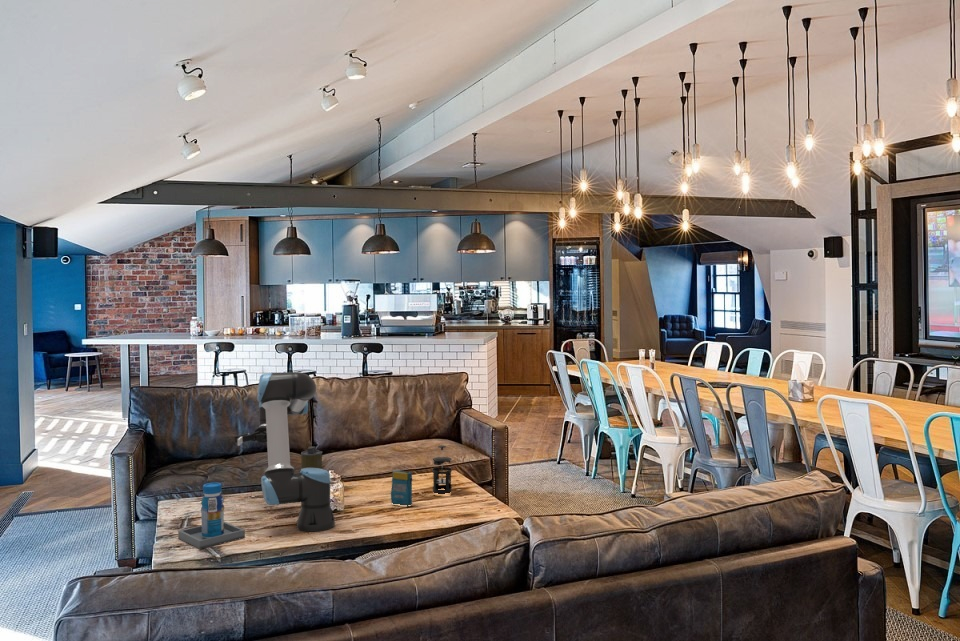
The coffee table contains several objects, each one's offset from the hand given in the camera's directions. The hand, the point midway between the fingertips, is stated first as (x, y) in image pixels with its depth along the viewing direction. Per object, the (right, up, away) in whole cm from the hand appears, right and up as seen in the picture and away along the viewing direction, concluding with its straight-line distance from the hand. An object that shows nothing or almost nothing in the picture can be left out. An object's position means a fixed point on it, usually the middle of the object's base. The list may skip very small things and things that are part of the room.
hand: (255, 442), depth 306 cm
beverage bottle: (-8, -32, -27) cm, 42 cm away
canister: (+12, -31, +51) cm, 61 cm away
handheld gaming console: (+60, -32, +17) cm, 70 cm away
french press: (+77, -31, +37) cm, 91 cm away
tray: (-8, -33, -27) cm, 43 cm away
